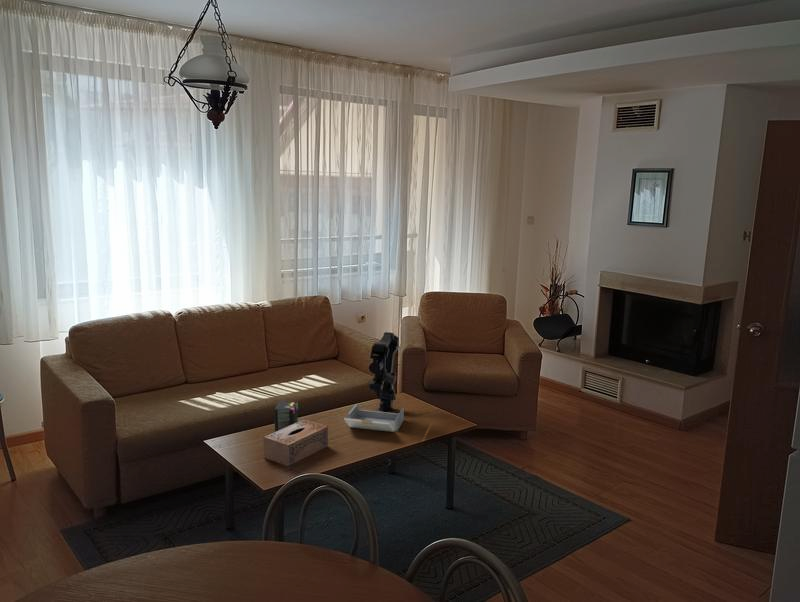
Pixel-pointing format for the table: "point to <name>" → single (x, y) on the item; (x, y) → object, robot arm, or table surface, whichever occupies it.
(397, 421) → the carton
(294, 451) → the tissue box cover
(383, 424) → the flap
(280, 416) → the tampon box
